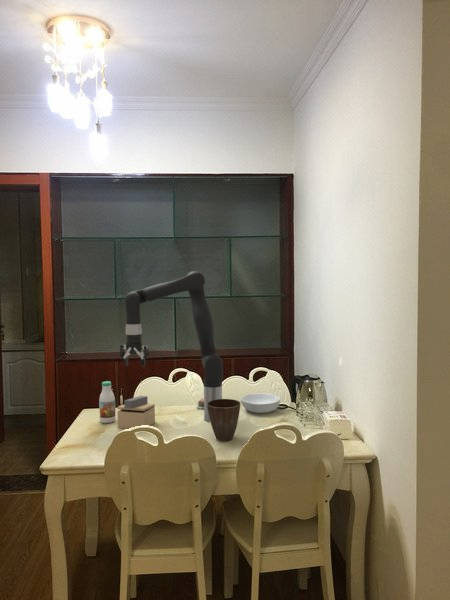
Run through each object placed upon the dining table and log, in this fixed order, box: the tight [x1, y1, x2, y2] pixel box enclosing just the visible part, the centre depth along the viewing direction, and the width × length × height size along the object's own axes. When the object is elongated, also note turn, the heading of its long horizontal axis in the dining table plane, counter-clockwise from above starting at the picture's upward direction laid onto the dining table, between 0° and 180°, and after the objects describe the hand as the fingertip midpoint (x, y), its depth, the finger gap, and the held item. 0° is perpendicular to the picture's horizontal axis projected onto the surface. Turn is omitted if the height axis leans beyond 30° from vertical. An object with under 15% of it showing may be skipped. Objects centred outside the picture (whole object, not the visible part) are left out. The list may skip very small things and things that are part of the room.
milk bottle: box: [98, 380, 117, 424], centre depth 243 cm, size 8×8×20 cm
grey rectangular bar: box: [123, 395, 148, 409], centre depth 236 cm, size 14×4×4 cm, turn 157°
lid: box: [117, 403, 156, 411], centre depth 236 cm, size 14×12×1 cm
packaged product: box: [196, 398, 204, 411], centre depth 264 cm, size 18×5×10 cm
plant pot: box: [207, 398, 242, 442], centre depth 215 cm, size 15×15×16 cm
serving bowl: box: [240, 392, 281, 414], centre depth 257 cm, size 21×21×7 cm
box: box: [116, 405, 156, 430], centre depth 236 cm, size 14×12×8 cm
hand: (134, 366), depth 235 cm, fingers open, 8 cm apart
